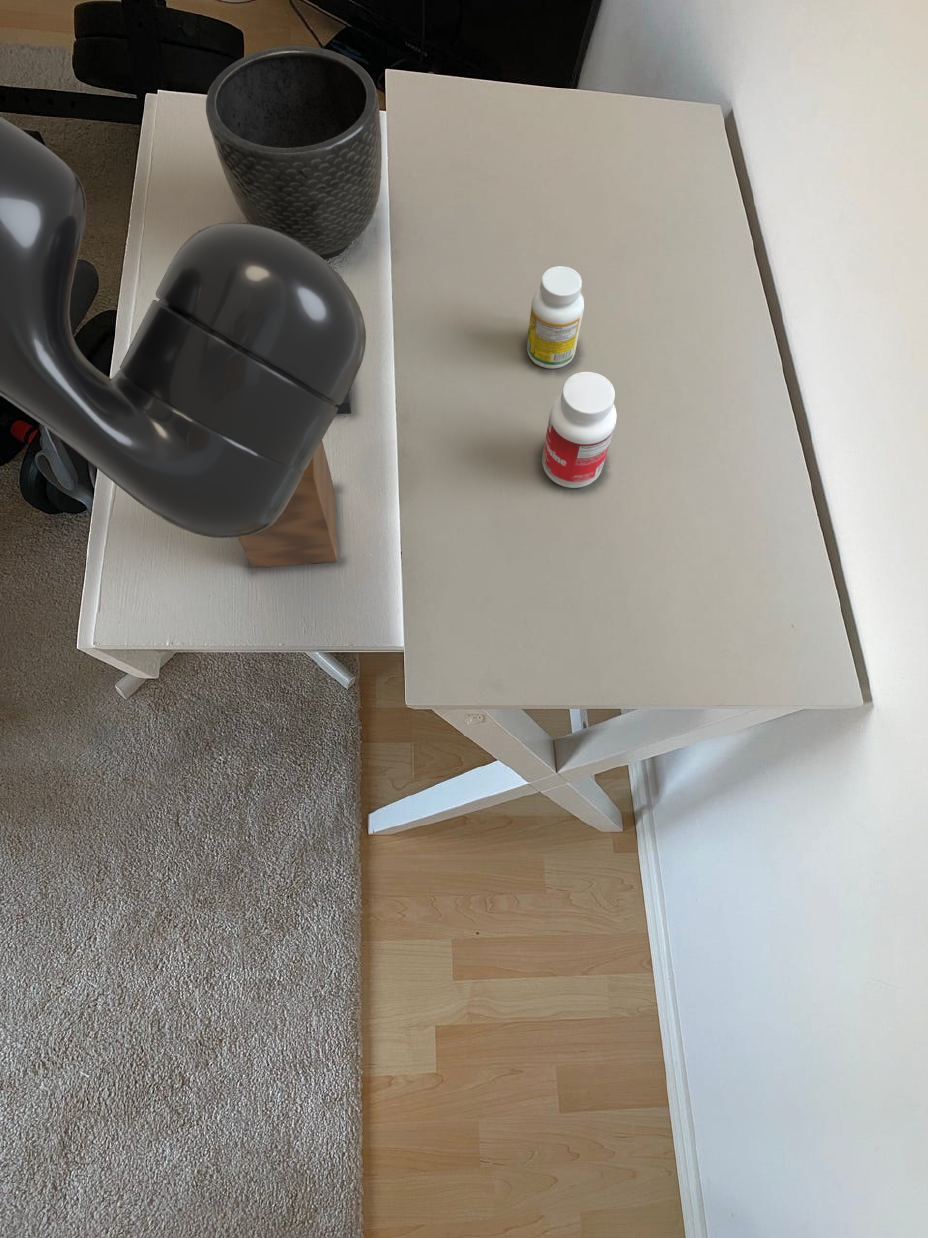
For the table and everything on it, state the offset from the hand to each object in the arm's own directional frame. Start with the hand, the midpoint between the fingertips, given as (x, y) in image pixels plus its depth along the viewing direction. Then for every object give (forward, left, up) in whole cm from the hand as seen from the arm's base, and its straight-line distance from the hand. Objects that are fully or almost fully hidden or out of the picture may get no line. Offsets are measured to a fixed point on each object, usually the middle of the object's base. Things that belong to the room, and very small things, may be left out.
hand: (236, 366), depth 58 cm
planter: (+3, +38, -21) cm, 44 cm away
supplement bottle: (+28, +18, -21) cm, 40 cm away
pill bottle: (+28, +3, -21) cm, 35 cm away
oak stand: (0, -2, -21) cm, 21 cm away
